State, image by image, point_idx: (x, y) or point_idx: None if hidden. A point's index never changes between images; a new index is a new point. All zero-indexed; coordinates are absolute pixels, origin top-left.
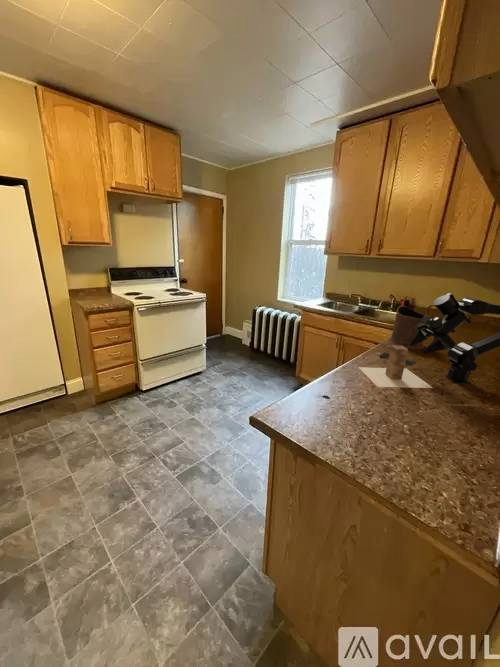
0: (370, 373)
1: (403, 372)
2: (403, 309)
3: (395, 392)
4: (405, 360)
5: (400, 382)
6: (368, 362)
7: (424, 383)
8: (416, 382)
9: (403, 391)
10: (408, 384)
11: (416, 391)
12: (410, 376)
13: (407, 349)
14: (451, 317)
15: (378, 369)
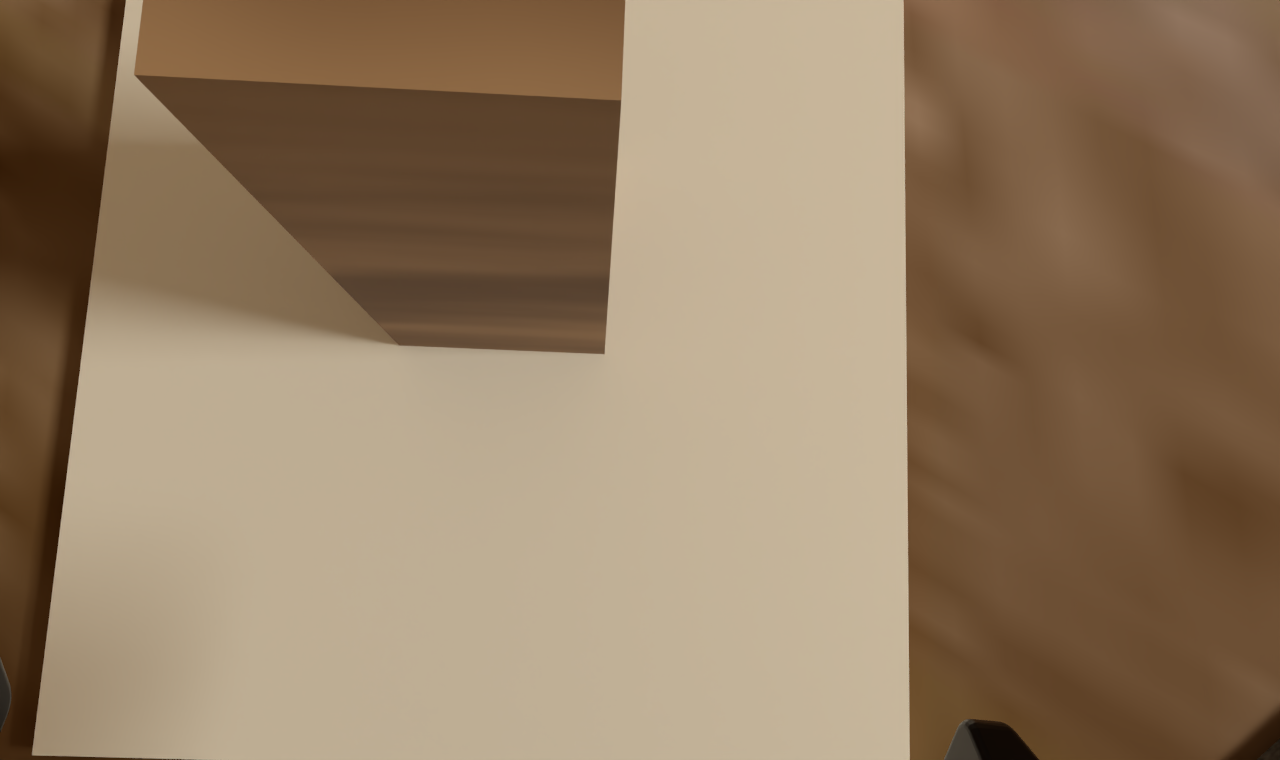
0: None
1: (704, 581)
2: None
3: (8, 5)
4: (284, 218)
5: (281, 252)
6: (1195, 173)
7: (216, 702)
8: (267, 565)
9: (26, 154)
10: (196, 352)
11: (5, 379)
12: (523, 613)
13: (146, 45)
14: None
15: (821, 149)
